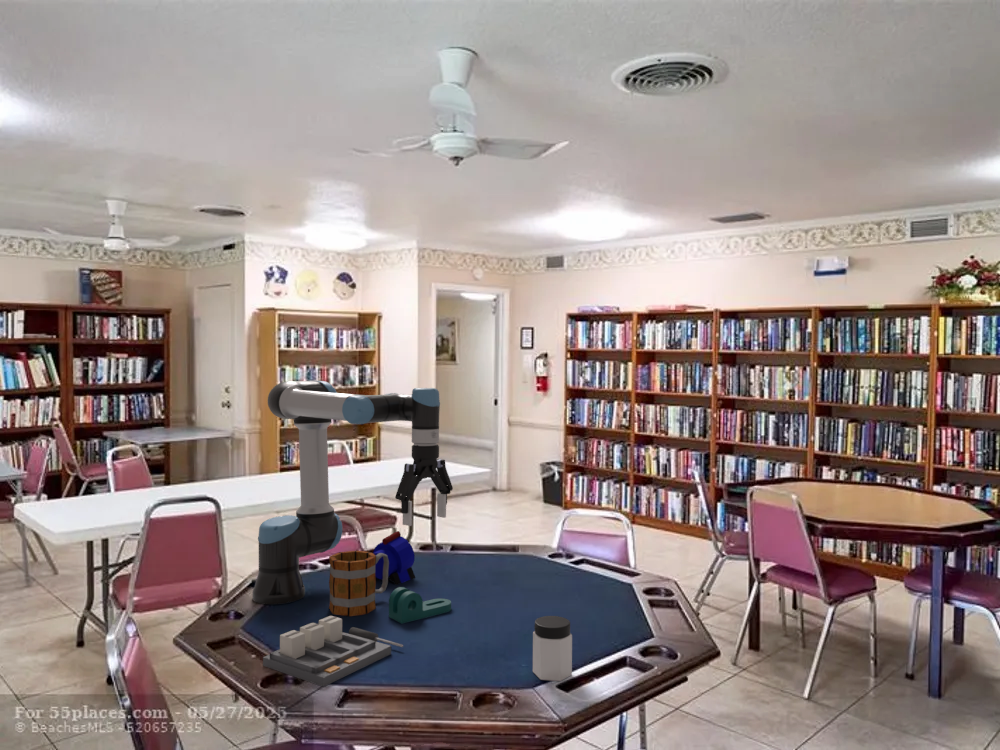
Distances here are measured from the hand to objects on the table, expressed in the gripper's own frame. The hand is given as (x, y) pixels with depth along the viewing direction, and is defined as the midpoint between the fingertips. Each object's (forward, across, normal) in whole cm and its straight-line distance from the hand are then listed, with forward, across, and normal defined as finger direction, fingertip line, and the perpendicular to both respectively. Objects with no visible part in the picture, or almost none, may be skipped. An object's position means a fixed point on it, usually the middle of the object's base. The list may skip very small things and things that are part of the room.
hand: (424, 521), depth 205 cm
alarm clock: (+28, +20, +35) cm, 49 cm away
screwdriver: (+27, -21, -3) cm, 34 cm away
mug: (+27, -4, +22) cm, 35 cm away
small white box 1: (+25, -42, +2) cm, 49 cm away
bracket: (+28, +3, +3) cm, 28 cm away
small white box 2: (+25, -30, +3) cm, 39 cm away
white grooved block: (+25, -36, +2) cm, 44 cm away
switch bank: (+27, -35, -2) cm, 44 cm away
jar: (+27, -8, -48) cm, 56 cm away
